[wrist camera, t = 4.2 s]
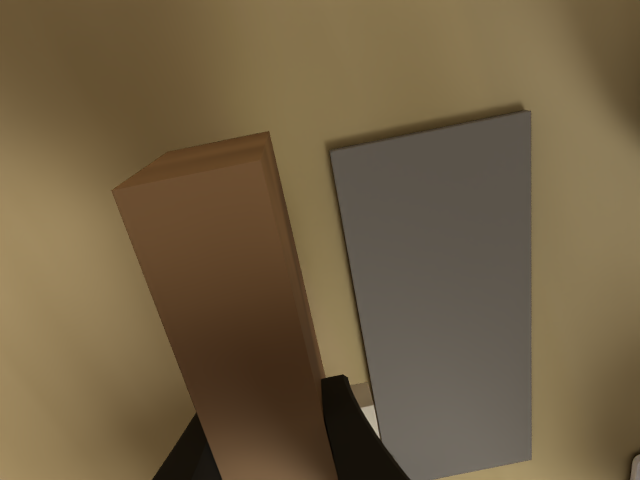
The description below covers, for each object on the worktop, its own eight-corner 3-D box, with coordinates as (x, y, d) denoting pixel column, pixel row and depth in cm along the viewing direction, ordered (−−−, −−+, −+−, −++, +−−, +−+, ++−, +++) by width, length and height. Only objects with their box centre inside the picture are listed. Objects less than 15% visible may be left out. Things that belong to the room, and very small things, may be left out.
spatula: (116, 162, 10) (36, 205, 7) (319, 120, 10) (335, 144, 7) (256, 539, 16) (248, 666, 12) (391, 512, 16) (420, 632, 12)
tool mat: (525, 110, 17) (531, 111, 17) (527, 453, 24) (531, 459, 24) (329, 150, 17) (330, 152, 17) (388, 481, 24) (390, 488, 24)
